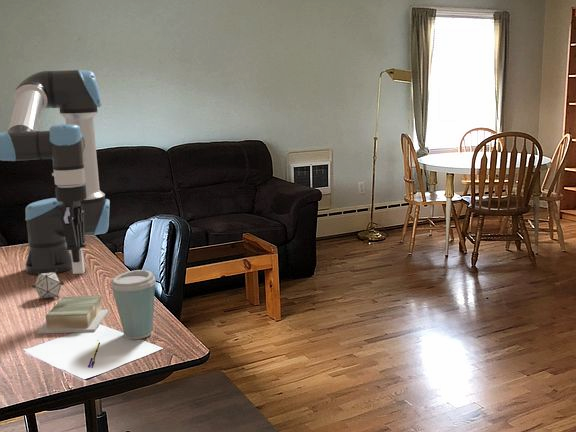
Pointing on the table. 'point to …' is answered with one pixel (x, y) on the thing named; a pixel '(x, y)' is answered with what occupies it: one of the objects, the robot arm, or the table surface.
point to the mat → (91, 328)
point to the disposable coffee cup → (135, 302)
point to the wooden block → (74, 312)
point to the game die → (48, 285)
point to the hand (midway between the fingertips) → (78, 272)
